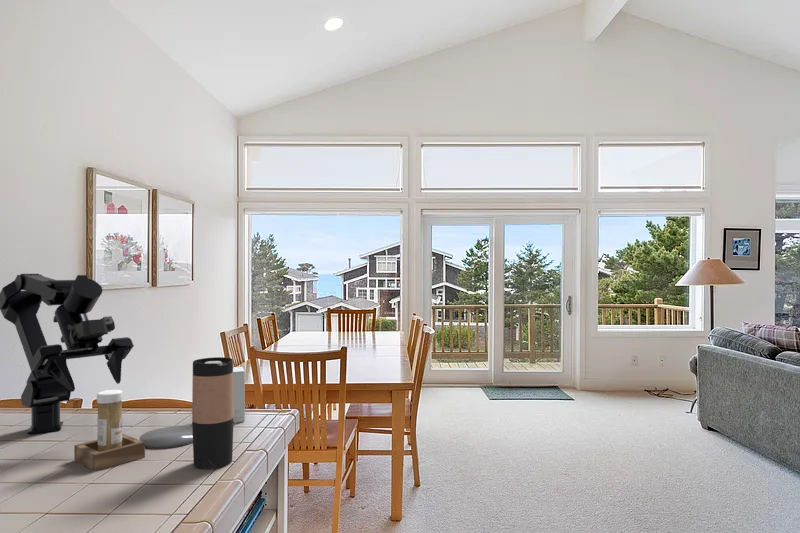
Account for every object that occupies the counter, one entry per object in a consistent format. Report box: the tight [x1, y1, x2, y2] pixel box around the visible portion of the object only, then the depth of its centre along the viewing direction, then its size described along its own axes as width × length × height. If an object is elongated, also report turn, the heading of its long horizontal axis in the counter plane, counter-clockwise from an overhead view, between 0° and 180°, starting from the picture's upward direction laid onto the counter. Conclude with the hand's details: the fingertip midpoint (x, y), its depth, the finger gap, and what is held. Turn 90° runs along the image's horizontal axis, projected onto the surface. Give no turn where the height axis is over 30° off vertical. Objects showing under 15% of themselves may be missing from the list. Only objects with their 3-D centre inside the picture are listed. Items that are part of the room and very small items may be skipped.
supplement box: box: [233, 366, 246, 423], centre depth 135 cm, size 7×7×13 cm
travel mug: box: [191, 356, 234, 470], centre depth 105 cm, size 8×8×20 cm
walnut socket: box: [73, 433, 146, 472], centre depth 107 cm, size 9×9×3 cm
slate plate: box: [139, 425, 193, 449], centre depth 120 cm, size 13×13×1 cm
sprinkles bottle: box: [96, 389, 124, 452], centre depth 107 cm, size 5×5×14 cm
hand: (96, 386), depth 113 cm, fingers open, 9 cm apart
